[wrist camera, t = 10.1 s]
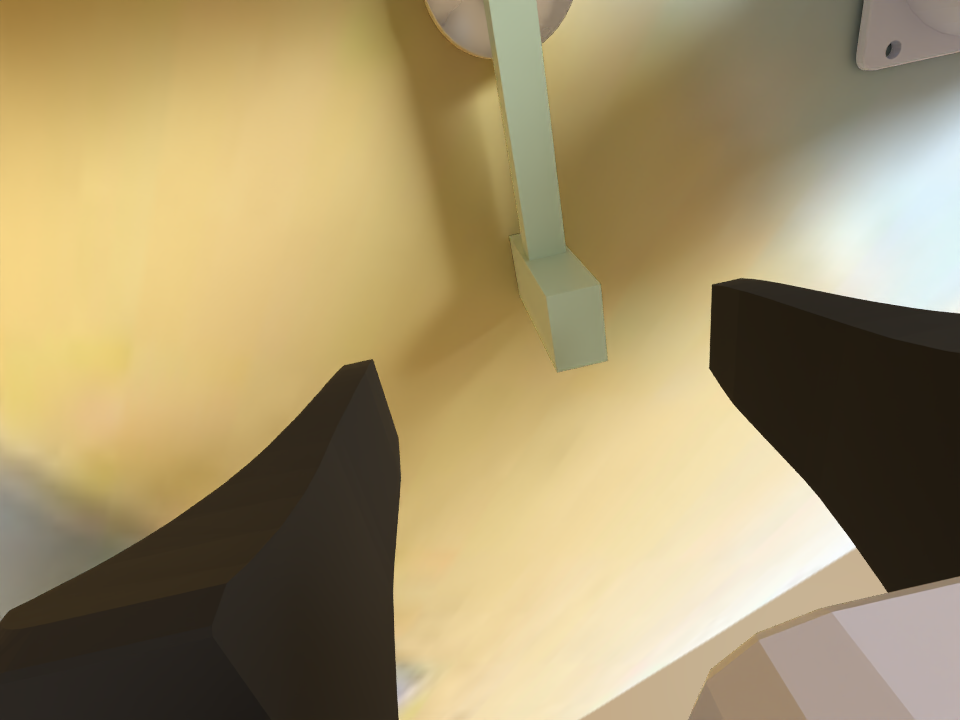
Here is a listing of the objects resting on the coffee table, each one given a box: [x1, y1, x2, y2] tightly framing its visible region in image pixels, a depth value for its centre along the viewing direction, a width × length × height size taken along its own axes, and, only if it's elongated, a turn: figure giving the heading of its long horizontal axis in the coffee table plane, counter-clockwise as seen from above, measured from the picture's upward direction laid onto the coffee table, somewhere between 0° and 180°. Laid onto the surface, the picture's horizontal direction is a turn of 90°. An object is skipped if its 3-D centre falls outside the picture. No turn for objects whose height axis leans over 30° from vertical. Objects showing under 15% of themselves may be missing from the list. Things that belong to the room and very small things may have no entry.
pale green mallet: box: [483, 0, 608, 372], centre depth 15 cm, size 4×13×6 cm, turn 11°
